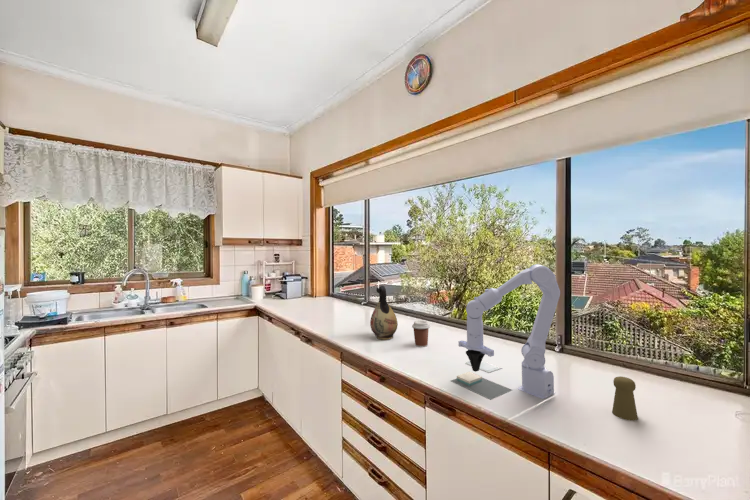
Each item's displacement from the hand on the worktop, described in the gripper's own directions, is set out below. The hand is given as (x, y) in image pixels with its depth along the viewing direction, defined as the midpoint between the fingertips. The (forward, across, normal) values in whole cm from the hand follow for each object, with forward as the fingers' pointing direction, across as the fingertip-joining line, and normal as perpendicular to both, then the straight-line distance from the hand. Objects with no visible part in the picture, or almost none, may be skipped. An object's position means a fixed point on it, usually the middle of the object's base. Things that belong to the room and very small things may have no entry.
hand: (475, 370), depth 116 cm
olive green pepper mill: (+6, +39, +19) cm, 44 cm away
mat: (+5, +2, 0) cm, 6 cm away
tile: (+4, 0, 0) cm, 4 cm away
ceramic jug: (+6, -69, +7) cm, 70 cm away
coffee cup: (+6, -47, +15) cm, 50 cm away
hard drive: (+6, -9, +16) cm, 19 cm away
